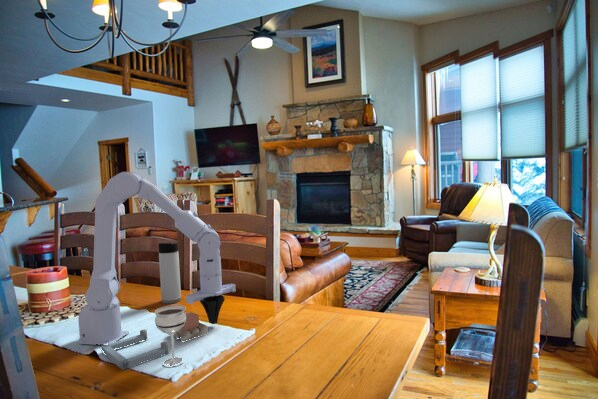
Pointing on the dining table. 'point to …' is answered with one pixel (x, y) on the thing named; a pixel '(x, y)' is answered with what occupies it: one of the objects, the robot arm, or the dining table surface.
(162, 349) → the dock
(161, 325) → the wineglass
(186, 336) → the pallet
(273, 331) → the dining table surface
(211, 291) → the robot arm
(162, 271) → the travel mug
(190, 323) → the salmon pink block
